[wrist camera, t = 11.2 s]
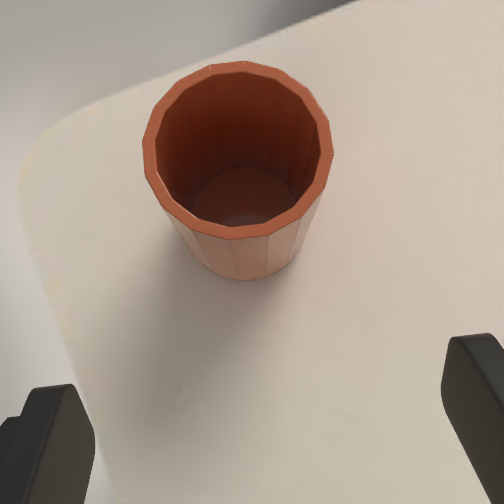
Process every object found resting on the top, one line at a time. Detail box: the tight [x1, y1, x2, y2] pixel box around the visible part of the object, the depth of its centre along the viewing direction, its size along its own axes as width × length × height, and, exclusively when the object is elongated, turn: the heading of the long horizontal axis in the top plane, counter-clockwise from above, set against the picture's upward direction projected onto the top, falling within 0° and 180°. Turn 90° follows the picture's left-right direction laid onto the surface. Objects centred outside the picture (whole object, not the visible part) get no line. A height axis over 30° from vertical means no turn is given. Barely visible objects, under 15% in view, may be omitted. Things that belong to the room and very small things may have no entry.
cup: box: [142, 61, 334, 281], centre depth 19 cm, size 6×6×8 cm
